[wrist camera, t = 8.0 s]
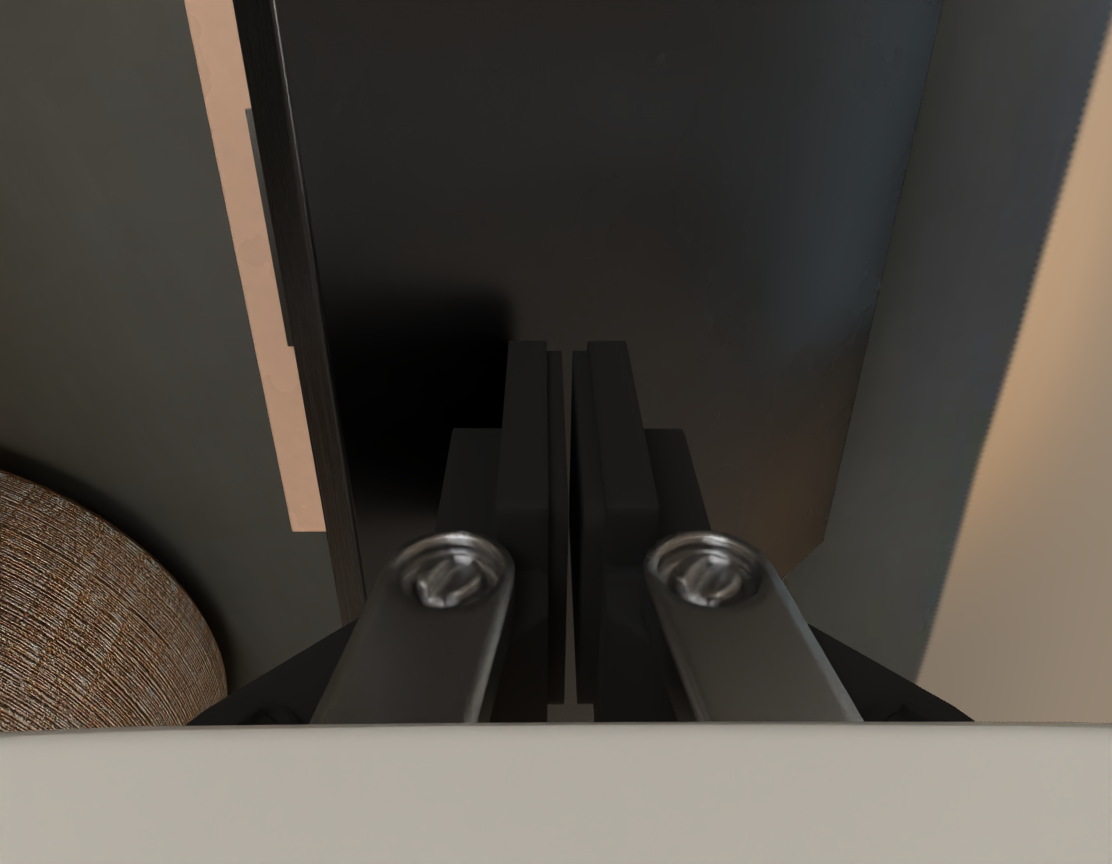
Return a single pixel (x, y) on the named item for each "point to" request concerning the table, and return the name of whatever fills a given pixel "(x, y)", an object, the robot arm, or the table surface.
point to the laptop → (255, 250)
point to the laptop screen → (581, 234)
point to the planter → (93, 623)
